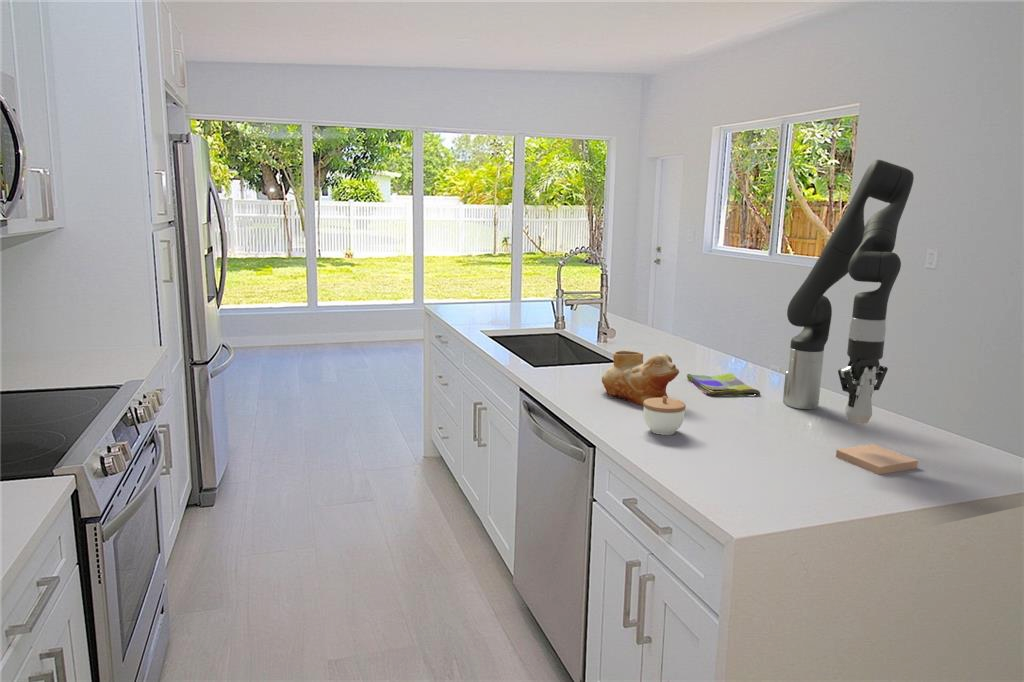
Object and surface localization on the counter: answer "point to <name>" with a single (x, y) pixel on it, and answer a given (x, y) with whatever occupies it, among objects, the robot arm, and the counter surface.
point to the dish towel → (721, 385)
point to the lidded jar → (664, 414)
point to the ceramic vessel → (638, 376)
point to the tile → (876, 459)
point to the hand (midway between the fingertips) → (858, 408)
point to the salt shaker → (861, 403)
